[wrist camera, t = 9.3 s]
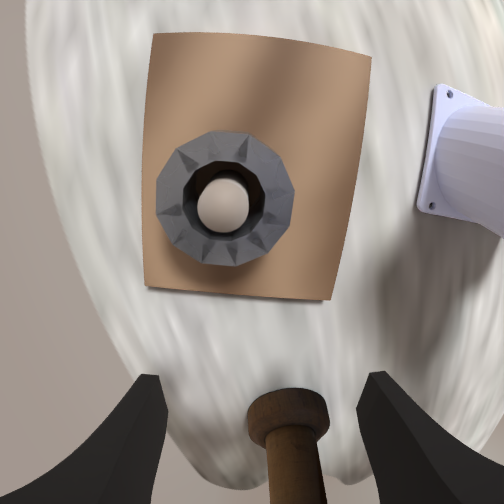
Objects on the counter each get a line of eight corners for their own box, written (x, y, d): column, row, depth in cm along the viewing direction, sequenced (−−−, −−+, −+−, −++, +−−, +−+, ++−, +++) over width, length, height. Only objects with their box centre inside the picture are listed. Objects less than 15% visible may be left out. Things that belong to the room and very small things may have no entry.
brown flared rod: (268, 437, 26) (279, 611, 9) (233, 402, 23) (230, 616, 7) (334, 415, 24) (374, 596, 8) (310, 375, 22) (354, 607, 6)
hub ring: (289, 136, 14) (301, 140, 11) (275, 239, 16) (282, 270, 13) (178, 127, 14) (158, 129, 11) (173, 230, 16) (156, 259, 13)
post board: (364, 59, 13) (403, 43, 9) (326, 292, 19) (346, 338, 15) (158, 38, 13) (129, 12, 9) (149, 277, 18) (125, 321, 14)
